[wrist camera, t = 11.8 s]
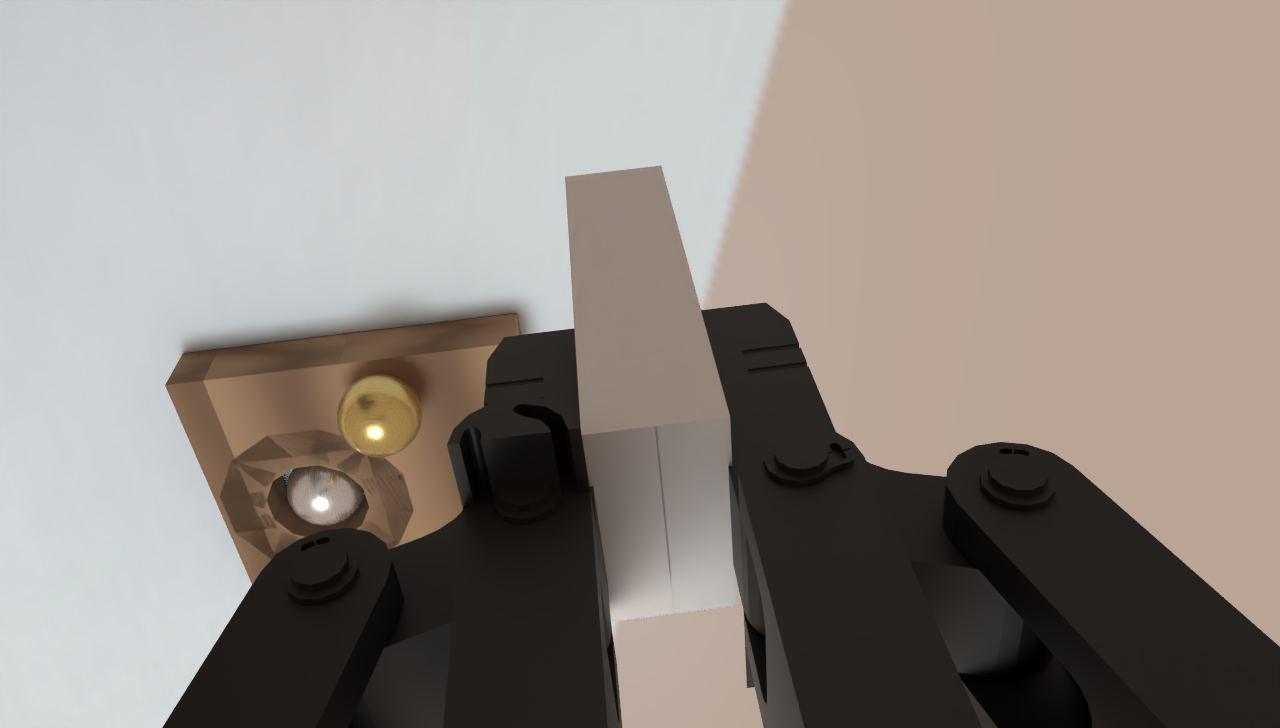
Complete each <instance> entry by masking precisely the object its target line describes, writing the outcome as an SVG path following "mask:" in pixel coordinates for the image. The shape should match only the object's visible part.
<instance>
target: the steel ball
mask: <svg viewBox="0 0 1280 728" xmlns="http://www.w3.org/2000/svg"><path fill="white" fill-rule="evenodd" d="M363 494H364V489H363V488H362V487H361V486H360V485H359V484H358V483H356V482H355V481H354V480H353V479H352V478H350V477H349V476H348V475H347V474H346V473H344V472H341V471H337V470H333V469H330V468H326V467H323V466H319V465H317V466H309V467H301V468H294V469H293V470H292V472H291V474H290V476H289V479H288V482H287V497H288V501H289V503H290V505H291V507H292V509H293V510H294V512H295V513H296V514H297V515H298V516H299V517H300V518H302V519H303V520H305V521H307V522H309V523H312V524H316V525H332V524H336V523H339V522H341V521H343V520H345V519H347V518H348V517H350V516H351V515H352V514H353V513H354V512H355V511H356V509H357V508H358V506H359V505H360V503H361V501H362V498H363Z"/></svg>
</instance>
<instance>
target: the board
mask: <svg viewBox="0 0 1280 728" xmlns="http://www.w3.org/2000/svg"><path fill="white" fill-rule="evenodd" d="M517 335H521V334H520V329H519V323H518V318H517V313H515V314H506V315H498V316H490V317H482V318H473V319H465V320H457V321H449V322H440V323H432V324H424V325H416V326H407V327H399V328H391V329H382V330H374V331H366V332H358V333H349V334H341V335H333V336H325V337H316V338H308V339H300V340H292V341H283V342H275V343H267V344H258V345H250V346H242V347H234V348H225V349H217V350H209V351H201V352H192V353H184V354H182V356H181V358H180V360H179V361H178V363H177V365H176V367H175V369H174V371H173V372H172V374H171V376H170V378H169V380H168V381H167V383H166V385H165V386H166V388H167V390H168V393H169V395H170V397H171V400H172V402H173V404H174V406H175V409H176V411H177V413H178V416H179V418H180V420H181V422H182V425H183V427H184V429H185V432H186V434H187V436H188V438H189V441H190V443H191V445H192V448H193V450H194V452H195V454H196V457H197V459H198V461H199V464H200V466H201V468H202V471H203V473H204V475H205V477H206V480H207V482H208V484H209V487H210V489H211V491H212V493H213V496H214V498H215V500H216V503H217V505H218V507H219V509H220V512H221V514H222V516H223V519H224V521H225V523H226V525H227V528H228V530H229V532H230V535H231V537H232V539H233V541H234V544H235V546H236V548H237V551H238V553H239V555H240V557H241V560H242V562H243V564H244V567H245V569H246V571H247V573H248V576H249V578H250V580H251V583H252V585H253V583H254V581H255V580H256V578H257V577H258V575H259V573H260V572H261V571H262V570H263V569H264V567H265V566H266V565H267V564H268V563H269V562H270V561H271V560H272V559H273V557H274V556H275V555H276V554H277V553H279V552H280V551H282V550H283V549H285V548H287V547H288V546H290V545H291V544H293V543H294V542H296V541H297V540H299V539H301V538H304V537H307V536H310V535H313V534H316V533H318V532H321V531H324V530H332V529H343V528H353V529H358V530H363V531H367V532H371V533H373V534H374V535H375V536H377V537H378V538H380V539H381V540H382V541H384V542H385V543H386V545H387V548H388V549H391V548H394V547H397V546H399V545H402V544H405V543H408V542H410V541H413V540H416V539H418V538H421V537H423V536H425V535H428V534H430V533H432V532H434V531H436V530H438V529H440V528H442V527H443V526H445V525H446V524H447V523H449V522H450V521H452V520H453V519H455V518H456V517H457V516H458V515H459V514H460V513H461V512H462V509H463V507H462V503H461V499H460V495H459V491H458V487H457V483H456V479H455V475H454V471H453V467H452V463H451V459H450V455H449V452H448V448H447V443H448V441H449V439H450V436H451V434H452V431H453V429H454V428H455V427H456V426H457V425H458V424H459V423H460V422H461V421H462V420H463V419H465V418H466V417H467V416H468V415H469V414H471V413H473V412H475V411H477V410H479V409H481V408H483V407H484V394H485V389H486V386H485V381H486V368H487V360H488V358H489V357H490V356H491V354H492V353H493V352H494V350H495V349H496V348H497V346H498V345H499V344H500V342H501V341H502V339H503V338H504V337H509V336H517ZM376 374H385V375H390V376H394V377H397V378H399V379H401V380H403V381H404V382H406V383H407V384H408V385H409V386H410V387H411V388H412V389H413V390H414V391H415V393H416V394H417V396H418V398H419V400H420V403H421V407H422V424H421V427H420V430H419V432H418V434H417V436H416V438H415V439H414V440H413V442H412V443H411V444H410V445H409V446H408V447H406V448H405V449H404V450H402V451H401V452H399V453H396V454H394V455H391V456H386V457H372V456H367V455H364V454H362V453H360V452H358V451H356V450H355V449H353V448H352V447H351V446H350V445H349V444H348V443H347V442H346V441H345V440H344V438H343V436H342V435H341V433H340V430H339V427H338V423H337V409H338V405H339V402H340V400H341V398H342V396H343V394H344V393H345V391H346V390H347V389H348V388H349V387H350V386H351V385H352V384H353V383H355V382H356V381H358V380H359V379H361V378H364V377H366V376H370V375H376ZM317 465H319V466H323V467H326V468H330V469H333V470H337V471H341V472H344V473H346V474H347V475H348V476H349V477H350V478H352V479H353V480H354V481H355V482H356V483H358V484H359V485H360V486H361V487H362V488H363V489H364V492H365V494H364V495H363V498H362V501H361V503H360V505H359V506H358V508H357V509H356V511H355V512H354V513H353V514H352V515H351V516H350V517H348V518H347V519H345V520H343V521H341V522H339V523H336V524H332V525H316V524H312V523H309V522H307V521H305V520H303V519H302V518H300V517H299V516H298V515H297V514H296V513H295V512H294V510H293V509H292V507H291V505H290V503H289V501H288V497H287V486H286V485H285V482H284V480H283V477H282V475H283V474H285V473H286V472H288V471H289V470H291V469H293V468H301V467H309V466H317Z"/></svg>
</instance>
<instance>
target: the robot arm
mask: <svg viewBox="0 0 1280 728" xmlns="http://www.w3.org/2000/svg"><path fill="white" fill-rule="evenodd" d="M565 181H566V198H567V214H568V230H569V247H570V263H571V279H572V295H573V312H574V328H575V329H567V330H558V331H550V332H542V333H534V334H526V335H517V336H509V337H504V338H503V339H502V341H501V342H500V344H499V345H498V346H497V348H496V349H495V350H494V352H493V353H492V354H491V356H490V357H489V358H488V360H487V368H486V381H485V386H486V389H485V394H484V407H483V408H481V409H479V410H477V411H475V412H473V413H471V414H469V415H468V416H467V417H466V418H465V419H463V420H462V421H461V422H460V423H459V424H458V425H457V426H456V427H455V428H454V429H453V431H452V434H451V436H450V439H449V441H448V443H447V448H448V452H449V455H450V459H451V463H452V467H453V471H454V475H455V479H456V483H457V487H458V491H459V495H460V499H461V503H462V507H463V509H462V512H461V513H460V514H459V515H458V516H457V517H456V518H455V519H453V520H452V521H450V522H449V523H447V524H446V525H445V526H443V527H442V528H440V529H438V530H436V531H434V532H432V533H430V534H428V535H425V536H423V537H421V538H418V539H416V540H413V541H410V542H408V543H405V544H402V545H399V546H397V547H394V548H391V549H388V548H387V545H386V543H385V542H384V541H382V540H381V539H380V538H378V537H377V536H375V535H374V534H373V533H371V532H367V531H363V530H358V529H353V528H343V529H332V530H324V531H321V532H318V533H316V534H313V535H310V536H307V537H304V538H301V539H299V540H297V541H296V542H294V543H293V544H291V545H290V546H288V547H287V548H285V549H283V550H282V551H280V552H279V553H277V554H276V555H275V556H274V557H273V559H272V560H271V561H270V562H269V563H268V564H267V565H266V566H265V567H264V569H263V570H262V571H261V572H260V573H259V575H258V577H257V578H256V580H255V581H254V583H253V585H252V586H251V588H250V589H249V591H248V593H247V594H246V596H245V597H244V599H243V600H242V602H241V604H240V605H239V607H238V608H237V610H236V612H235V613H234V615H233V616H232V618H231V620H230V621H229V623H228V624H227V626H226V627H225V629H224V631H223V632H222V634H221V635H220V637H219V639H218V640H217V642H216V643H215V645H214V647H213V648H212V650H211V651H210V653H209V654H208V656H207V658H206V659H205V661H204V662H203V664H202V666H201V667H200V669H199V670H198V672H197V674H196V675H195V677H194V678H193V680H192V681H191V683H190V685H189V686H188V688H187V689H186V691H185V693H184V694H183V696H182V697H181V699H180V701H179V702H178V704H177V705H176V707H175V708H174V710H173V712H172V713H171V715H170V716H169V718H168V720H167V721H166V723H165V724H164V726H163V728H622V720H621V708H620V697H619V685H618V674H617V663H616V655H615V648H614V642H613V635H612V628H611V622H613V621H621V620H629V619H636V618H644V617H651V616H660V615H667V614H675V613H682V612H691V611H699V610H706V609H713V608H721V607H730V606H737V605H739V597H738V587H739V592H740V596H741V600H742V605H743V609H744V627H745V650H746V673H747V688H750V687H755V690H756V694H757V699H758V703H759V708H760V712H761V717H762V721H763V726H764V728H1280V647H1279V646H1278V645H1277V644H1276V643H1275V642H1274V641H1272V640H1271V639H1270V638H1269V637H1268V636H1267V635H1266V634H1264V633H1263V632H1262V631H1261V630H1260V629H1259V628H1257V627H1256V626H1255V625H1254V624H1253V623H1252V622H1251V621H1250V620H1248V619H1247V618H1246V617H1245V616H1244V615H1243V614H1242V613H1240V612H1239V611H1238V610H1237V609H1236V608H1235V607H1233V606H1232V605H1231V604H1230V603H1229V602H1228V601H1227V600H1226V599H1224V598H1223V597H1222V596H1221V595H1220V594H1219V593H1218V592H1216V591H1215V590H1214V589H1213V588H1212V587H1211V586H1209V585H1208V584H1207V583H1206V582H1205V581H1204V580H1203V579H1202V578H1200V577H1199V576H1198V575H1197V574H1196V573H1195V572H1194V571H1193V570H1191V569H1190V568H1189V567H1188V566H1187V565H1186V564H1185V563H1183V562H1182V561H1181V560H1180V559H1179V558H1178V557H1177V556H1175V555H1174V554H1173V553H1172V552H1171V551H1170V550H1169V549H1167V548H1166V547H1165V546H1164V545H1163V544H1162V543H1161V542H1159V541H1158V540H1157V539H1156V538H1155V537H1154V536H1153V535H1151V534H1150V533H1149V532H1148V531H1147V530H1146V529H1145V528H1143V527H1142V526H1141V525H1140V524H1139V523H1138V522H1137V521H1135V520H1134V519H1133V518H1132V517H1131V516H1130V515H1129V514H1128V513H1126V512H1125V511H1124V510H1123V509H1122V508H1121V507H1120V506H1118V505H1117V504H1116V503H1115V502H1114V501H1113V500H1112V499H1110V498H1109V497H1108V496H1107V495H1106V494H1105V493H1103V492H1102V491H1101V490H1100V489H1099V488H1098V487H1097V486H1096V485H1094V484H1093V483H1092V482H1091V481H1090V480H1089V479H1088V478H1086V477H1085V476H1084V475H1083V474H1082V473H1081V472H1080V471H1078V470H1077V469H1076V468H1075V467H1074V466H1072V465H1071V464H1069V463H1068V462H1066V461H1064V460H1063V459H1061V458H1060V457H1058V456H1057V455H1055V454H1054V453H1051V452H1049V451H1045V450H1042V449H1039V448H1036V447H1033V446H1030V445H1027V444H1015V443H1005V442H998V443H991V444H985V445H978V446H975V447H973V448H971V449H969V450H967V451H965V452H963V453H961V454H959V455H958V456H957V457H956V458H955V460H954V461H953V462H952V464H951V465H950V466H949V468H948V469H947V477H941V476H931V475H921V474H911V473H904V472H899V471H893V470H888V469H884V468H882V467H879V466H876V465H873V464H870V463H868V462H867V461H866V460H865V458H864V456H863V455H862V453H861V452H860V451H859V449H858V448H857V447H856V446H855V444H854V443H853V442H852V441H850V440H848V439H847V438H845V437H843V436H841V435H840V434H838V433H836V432H835V429H834V427H833V424H832V422H831V419H830V417H829V415H828V412H827V410H826V407H825V405H824V403H823V400H822V398H821V395H820V393H819V391H818V389H817V386H816V383H815V381H814V379H813V376H812V374H811V371H810V369H809V367H807V362H806V359H805V357H804V355H803V352H802V350H801V348H799V343H798V340H797V338H796V335H795V333H794V331H793V328H792V326H791V323H790V321H789V320H788V319H787V318H785V317H784V316H783V315H781V314H780V313H779V312H777V311H776V310H775V309H773V308H772V307H771V306H770V305H768V304H767V303H759V304H750V305H742V306H735V307H726V308H717V309H710V310H701V309H700V305H699V302H698V298H697V294H696V291H695V287H694V284H693V280H692V276H691V273H690V269H689V265H688V262H687V258H686V254H685V251H684V247H683V244H682V240H681V236H680V233H679V229H678V225H677V222H676V218H675V214H674V211H673V207H672V204H671V200H670V196H669V193H668V189H667V185H666V182H665V178H664V174H663V171H662V167H661V166H654V167H645V168H637V169H628V170H620V171H612V172H603V173H595V174H586V175H578V176H569V177H565Z"/></svg>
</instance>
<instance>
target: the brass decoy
mask: <svg viewBox="0 0 1280 728" xmlns="http://www.w3.org/2000/svg"><path fill="white" fill-rule="evenodd" d="M337 423H338V427H339V430H340V433H341V435H342V436H343V438H344V440H345V441H346V442H347V443H348V444H349V445H350V446H351V447H352V448H353V449H355V450H356V451H358V452H360V453H362V454H364V455H367V456H372V457H386V456H391V455H394V454H396V453H399V452H401V451H402V450H404V449H405V448H406V447H408V446H409V445H410V444H411V443H412V442H413V440H414V439H415V438H416V436H417V434H418V432H419V430H420V427H421V424H422V407H421V403H420V400H419V398H418V396H417V394H416V393H415V391H414V390H413V389H412V388H411V387H410V386H409V385H408V384H407V383H406V382H404V381H403V380H401V379H399V378H397V377H394V376H390V375H385V374H376V375H370V376H366V377H364V378H361V379H359V380H358V381H356V382H355V383H353V384H352V385H351V386H350V387H349V388H348V389H347V390H346V391H345V393H344V394H343V396H342V398H341V400H340V402H339V405H338V409H337Z"/></svg>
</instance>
